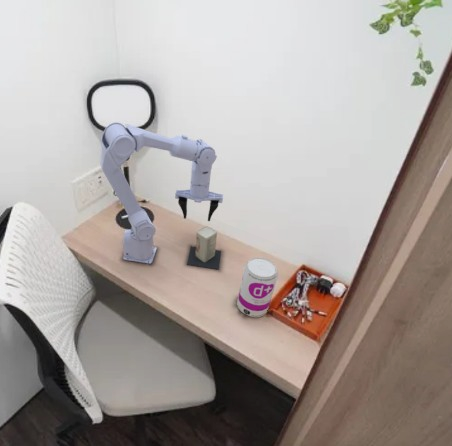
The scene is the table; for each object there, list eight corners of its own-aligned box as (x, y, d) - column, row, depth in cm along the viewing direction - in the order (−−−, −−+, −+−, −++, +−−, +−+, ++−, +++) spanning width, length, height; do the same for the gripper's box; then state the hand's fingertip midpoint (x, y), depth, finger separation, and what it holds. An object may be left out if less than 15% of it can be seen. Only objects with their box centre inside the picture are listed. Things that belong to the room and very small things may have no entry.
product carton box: (204, 249, 112) (207, 225, 106) (215, 256, 109) (218, 231, 103) (194, 256, 109) (196, 231, 103) (204, 263, 107) (206, 238, 101)
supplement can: (268, 320, 89) (281, 280, 80) (236, 316, 90) (245, 276, 81) (266, 297, 95) (277, 258, 86) (236, 293, 96) (244, 254, 88)
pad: (186, 264, 107) (186, 264, 106) (190, 246, 114) (191, 246, 114) (218, 269, 104) (218, 269, 104) (220, 251, 111) (221, 250, 111)
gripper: (174, 185, 100) (173, 222, 108) (224, 190, 97) (219, 227, 105) (177, 174, 105) (176, 210, 113) (225, 178, 102) (220, 215, 110)
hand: (197, 218), depth 109 cm, fingers open, 7 cm apart
